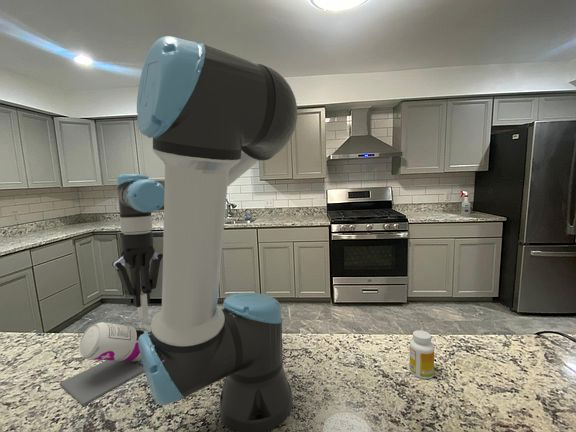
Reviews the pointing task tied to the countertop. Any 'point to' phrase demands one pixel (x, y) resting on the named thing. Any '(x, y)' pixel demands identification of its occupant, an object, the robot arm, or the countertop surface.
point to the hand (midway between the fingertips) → (143, 316)
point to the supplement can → (111, 342)
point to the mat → (100, 379)
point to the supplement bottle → (422, 355)
